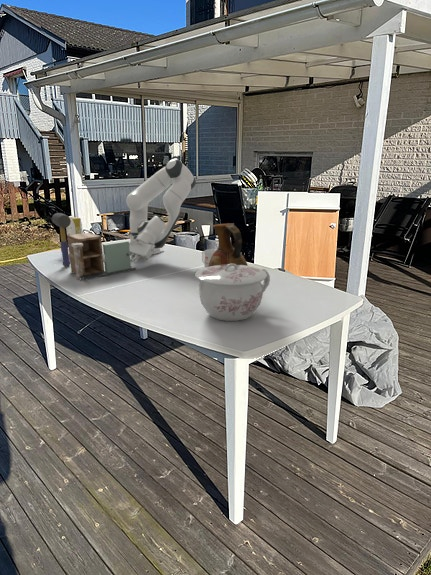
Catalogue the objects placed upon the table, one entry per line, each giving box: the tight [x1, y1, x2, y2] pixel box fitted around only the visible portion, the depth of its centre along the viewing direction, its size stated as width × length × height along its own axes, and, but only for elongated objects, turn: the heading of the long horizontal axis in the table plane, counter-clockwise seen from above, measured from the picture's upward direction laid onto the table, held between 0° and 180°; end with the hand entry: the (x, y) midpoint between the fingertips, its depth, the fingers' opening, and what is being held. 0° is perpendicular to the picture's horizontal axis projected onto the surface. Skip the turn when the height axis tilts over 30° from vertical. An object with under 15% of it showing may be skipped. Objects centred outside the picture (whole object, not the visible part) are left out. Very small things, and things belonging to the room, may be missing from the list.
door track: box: [80, 267, 137, 282], centre depth 213 cm, size 30×5×1 cm, turn 133°
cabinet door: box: [102, 240, 132, 273], centre depth 213 cm, size 15×4×16 cm, turn 132°
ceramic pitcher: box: [208, 222, 249, 267], centre depth 189 cm, size 20×20×30 cm
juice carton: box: [65, 215, 84, 236], centre depth 256 cm, size 9×8×24 cm
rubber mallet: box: [51, 212, 71, 268], centre depth 223 cm, size 12×8×30 cm, turn 37°
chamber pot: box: [194, 263, 271, 322], centre depth 154 cm, size 28×28×21 cm
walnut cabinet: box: [66, 232, 105, 282], centre depth 210 cm, size 16×18×20 cm
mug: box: [201, 248, 218, 268], centre depth 218 cm, size 12×9×11 cm
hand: (131, 261), depth 219 cm, fingers closed
